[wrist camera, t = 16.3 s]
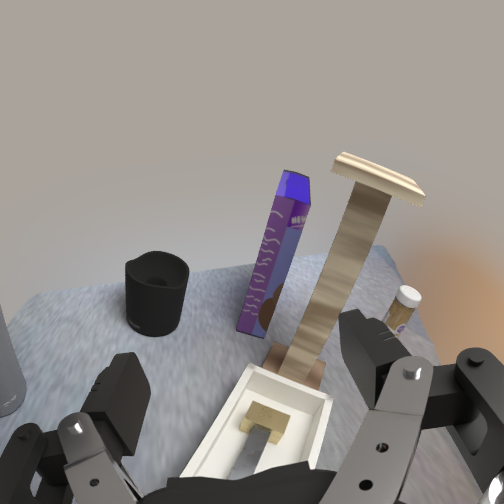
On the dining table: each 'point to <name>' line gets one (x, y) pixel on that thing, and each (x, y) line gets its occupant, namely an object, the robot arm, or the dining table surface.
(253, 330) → the purple book
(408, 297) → the sprinkles bottle
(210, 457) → the tray
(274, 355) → the bracket
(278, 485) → the robot arm
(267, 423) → the pin
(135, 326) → the pen holder
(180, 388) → the dining table surface
